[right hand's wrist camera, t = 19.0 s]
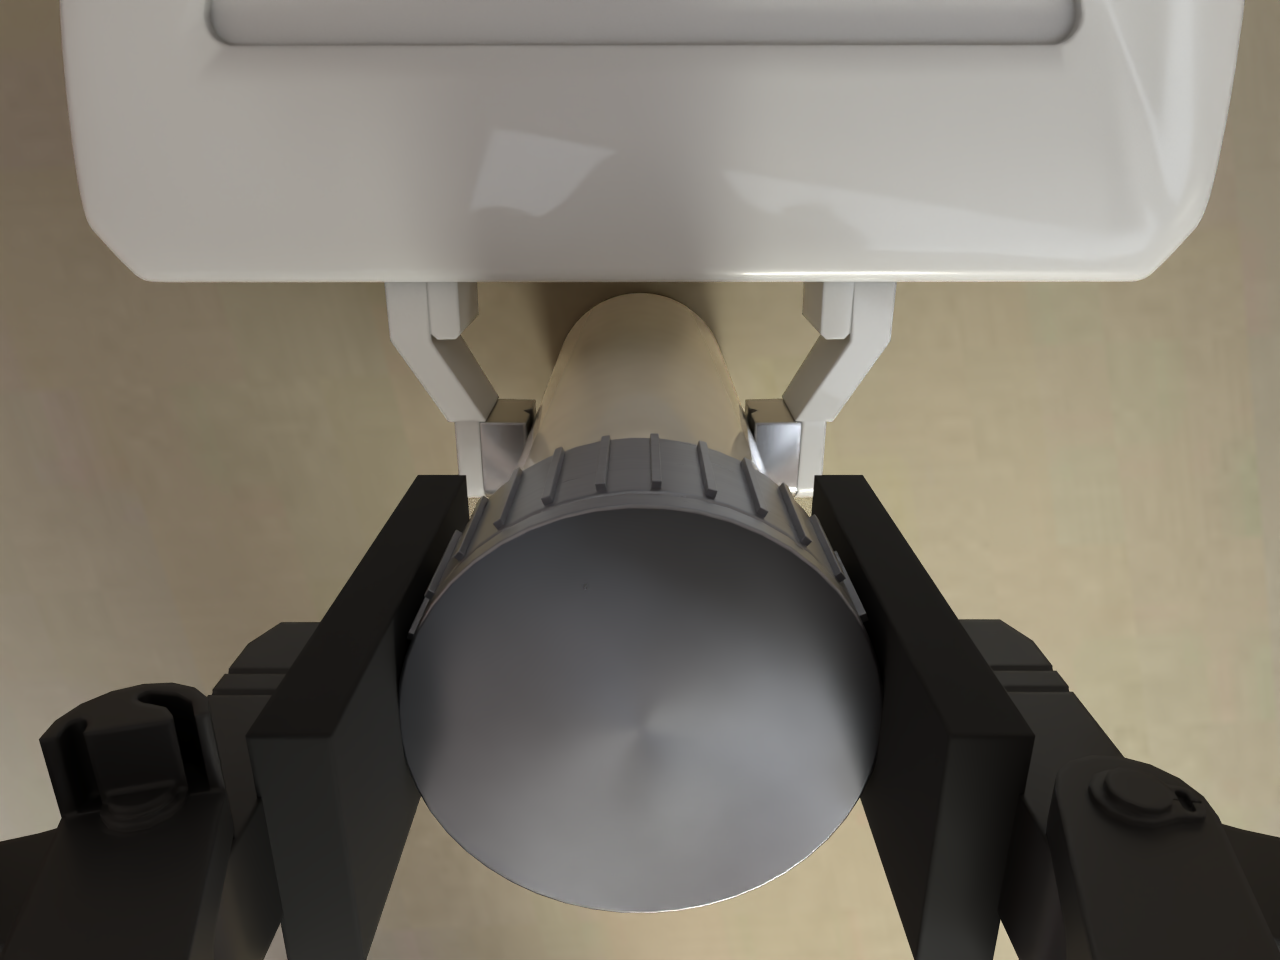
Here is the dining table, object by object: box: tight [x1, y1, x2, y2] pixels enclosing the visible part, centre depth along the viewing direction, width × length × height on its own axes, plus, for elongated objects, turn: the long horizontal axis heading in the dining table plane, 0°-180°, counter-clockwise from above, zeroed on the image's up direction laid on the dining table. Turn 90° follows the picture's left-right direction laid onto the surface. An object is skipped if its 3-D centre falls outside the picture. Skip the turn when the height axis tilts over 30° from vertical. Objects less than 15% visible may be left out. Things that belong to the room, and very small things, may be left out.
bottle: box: [516, 293, 769, 478], centre depth 18 cm, size 5×5×15 cm
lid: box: [398, 433, 883, 913], centre depth 11 cm, size 6×6×2 cm
